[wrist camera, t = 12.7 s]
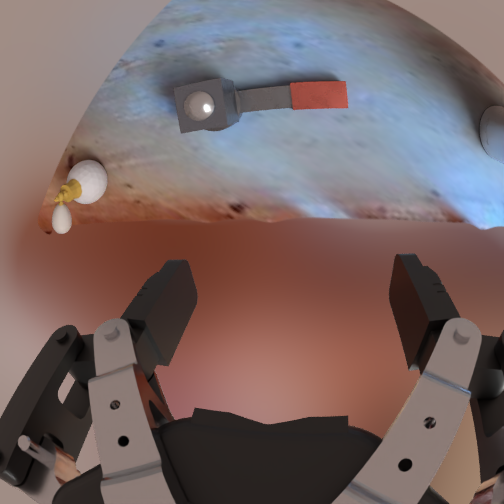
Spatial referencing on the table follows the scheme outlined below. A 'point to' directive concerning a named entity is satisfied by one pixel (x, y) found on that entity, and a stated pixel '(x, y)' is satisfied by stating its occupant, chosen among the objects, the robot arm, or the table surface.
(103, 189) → the perfume bottle
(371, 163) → the table surface
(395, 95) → the table surface
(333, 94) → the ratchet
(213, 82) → the cube with chrome knob
